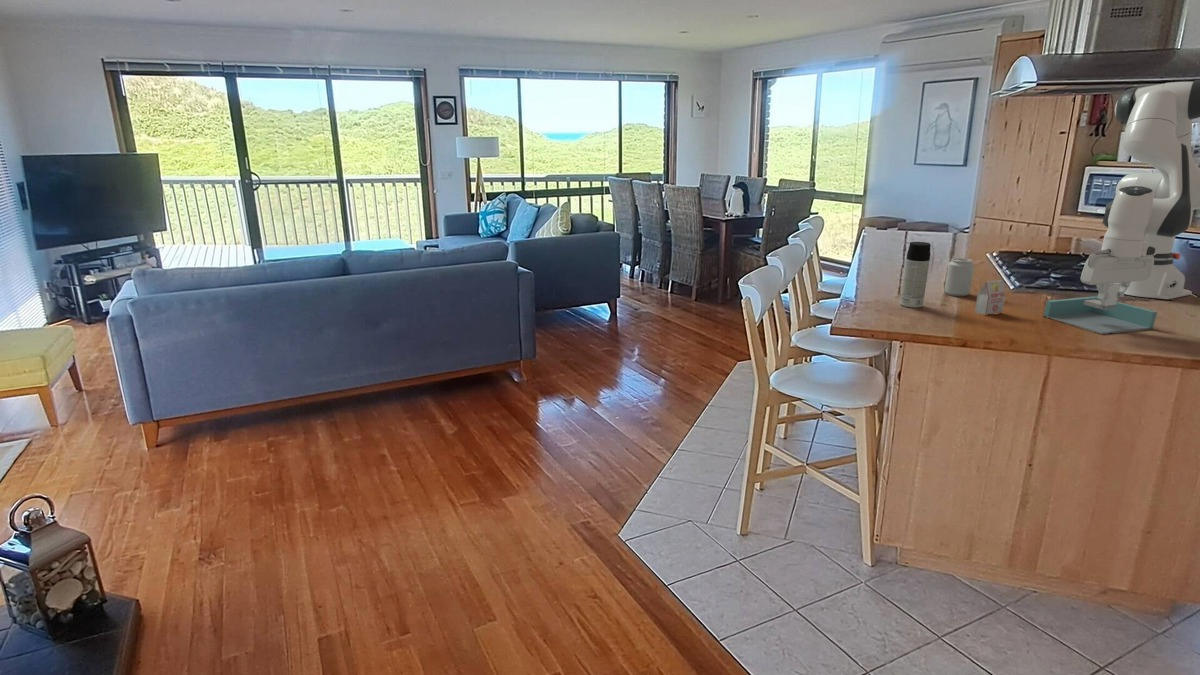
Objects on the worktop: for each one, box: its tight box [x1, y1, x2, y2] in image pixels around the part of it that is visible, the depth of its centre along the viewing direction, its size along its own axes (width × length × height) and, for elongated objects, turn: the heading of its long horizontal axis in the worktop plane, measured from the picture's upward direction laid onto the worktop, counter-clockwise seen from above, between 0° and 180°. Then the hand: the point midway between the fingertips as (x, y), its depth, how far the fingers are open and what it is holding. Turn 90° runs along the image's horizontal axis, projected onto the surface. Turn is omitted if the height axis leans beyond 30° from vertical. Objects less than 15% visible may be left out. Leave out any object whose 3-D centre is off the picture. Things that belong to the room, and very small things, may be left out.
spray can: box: [899, 241, 932, 309], centre depth 204 cm, size 7×7×20 cm
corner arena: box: [1043, 295, 1158, 335], centre depth 186 cm, size 18×18×5 cm
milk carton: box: [974, 279, 1006, 315], centre depth 196 cm, size 4×7×10 cm, turn 109°
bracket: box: [1084, 283, 1121, 310], centre depth 182 cm, size 6×4×7 cm, turn 14°
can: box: [944, 257, 975, 297], centre depth 218 cm, size 8×8×12 cm
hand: (1110, 298), depth 180 cm, fingers closed on bracket, 4 cm apart
